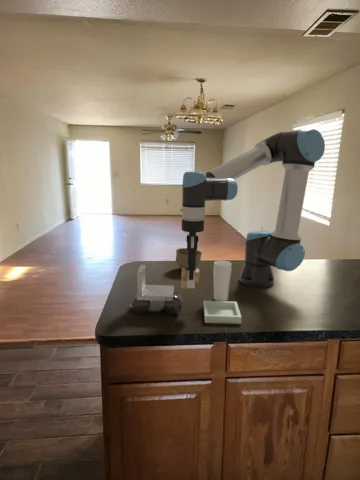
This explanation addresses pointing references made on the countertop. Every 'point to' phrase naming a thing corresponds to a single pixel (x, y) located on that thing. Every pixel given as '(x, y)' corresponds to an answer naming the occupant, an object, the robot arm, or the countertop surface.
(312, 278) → the countertop surface
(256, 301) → the countertop surface
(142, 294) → the grey toy cart
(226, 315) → the tray
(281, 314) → the countertop surface
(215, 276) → the drinking glass
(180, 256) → the bowl
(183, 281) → the wooden block
